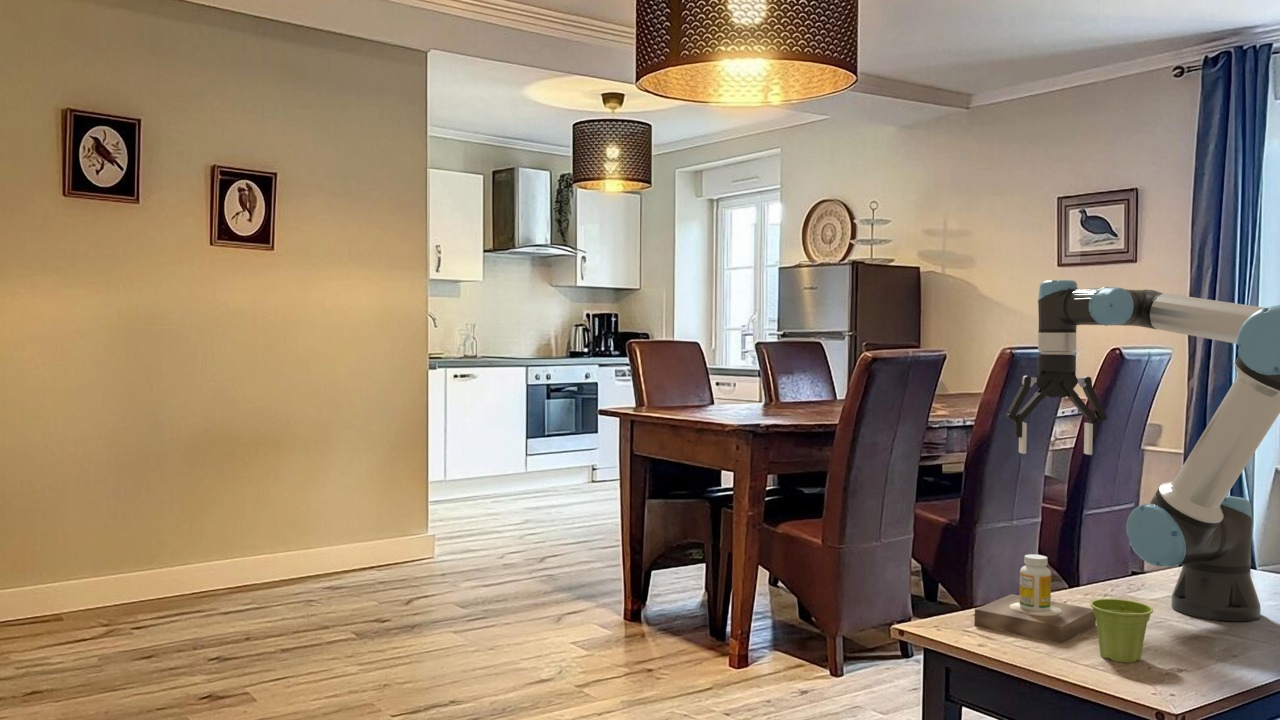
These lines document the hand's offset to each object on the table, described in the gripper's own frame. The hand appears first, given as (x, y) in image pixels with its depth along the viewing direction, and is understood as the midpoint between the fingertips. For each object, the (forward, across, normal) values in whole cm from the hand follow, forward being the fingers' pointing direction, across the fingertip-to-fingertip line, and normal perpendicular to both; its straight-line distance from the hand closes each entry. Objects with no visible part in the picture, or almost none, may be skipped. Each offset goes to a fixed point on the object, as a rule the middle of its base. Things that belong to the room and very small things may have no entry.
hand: (1055, 453), depth 217 cm
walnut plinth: (+29, +13, +30) cm, 43 cm away
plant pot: (+29, +5, +48) cm, 56 cm away
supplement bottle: (+26, +13, +29) cm, 41 cm away
